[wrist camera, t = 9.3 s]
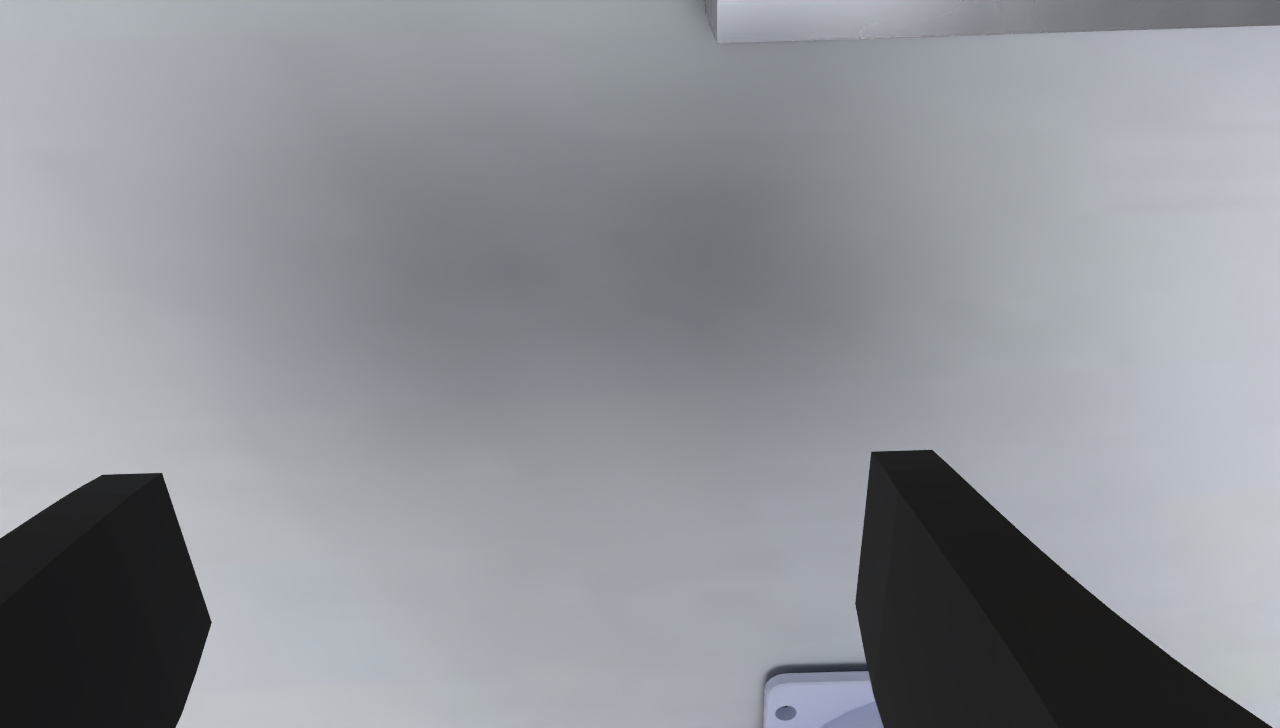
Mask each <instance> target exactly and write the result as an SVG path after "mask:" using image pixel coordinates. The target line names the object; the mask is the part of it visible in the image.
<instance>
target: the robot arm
mask: <svg viewBox="0 0 1280 728" xmlns="http://www.w3.org/2000/svg"><path fill="white" fill-rule="evenodd" d="M855 604H856V610H857V615H858V620H859V626H860V631H861V636H862V642H863V647H864V652H865V657H866V662H867V667H868V671H852V672H817V673H785V674H779V675H776V676H774V677H772V678H771V679H770V680H769V681H768V682H767V683H766V686H765V691H764V712H763V728H1272V727H1271V726H1270V725H1268V724H1267V723H1265V722H1264V721H1262V720H1261V719H1259V718H1258V717H1256V716H1255V715H1253V714H1252V713H1250V712H1249V711H1247V710H1246V709H1245V708H1243V707H1242V706H1240V705H1239V704H1237V703H1236V702H1234V701H1233V700H1231V699H1230V698H1228V697H1227V696H1225V695H1224V694H1222V693H1221V692H1219V691H1218V690H1217V689H1215V688H1214V687H1212V686H1211V685H1209V684H1208V683H1207V682H1205V681H1204V680H1202V679H1201V678H1200V677H1198V676H1197V675H1195V674H1194V673H1193V672H1191V671H1190V670H1189V669H1187V668H1186V667H1184V666H1183V665H1182V664H1180V663H1179V662H1178V661H1176V660H1175V659H1174V658H1172V657H1171V656H1170V655H1168V654H1167V653H1166V652H1165V651H1163V650H1162V649H1161V648H1159V647H1158V646H1157V645H1156V644H1154V643H1153V642H1152V641H1150V640H1149V639H1148V638H1147V637H1145V636H1144V635H1143V634H1141V633H1140V632H1139V631H1138V630H1136V629H1135V628H1134V627H1132V626H1131V625H1130V624H1129V623H1127V622H1126V621H1125V620H1123V619H1122V618H1121V617H1120V616H1118V615H1117V614H1116V613H1114V612H1113V611H1112V610H1111V609H1110V608H1108V607H1107V606H1106V605H1105V604H1104V603H1102V602H1101V601H1100V600H1099V599H1097V598H1096V597H1095V596H1094V595H1093V594H1091V593H1090V592H1089V591H1088V590H1087V589H1085V588H1084V587H1083V586H1082V585H1081V584H1079V583H1078V582H1077V581H1076V580H1075V579H1074V578H1072V577H1071V576H1070V575H1069V574H1068V573H1067V572H1065V571H1064V570H1063V569H1062V568H1061V567H1060V566H1058V565H1057V564H1056V563H1055V562H1054V561H1053V560H1052V559H1050V558H1049V557H1048V556H1047V555H1046V554H1045V553H1044V552H1042V551H1041V550H1040V549H1039V548H1038V547H1037V546H1036V545H1035V544H1033V543H1032V542H1031V541H1030V540H1029V539H1028V538H1027V537H1026V536H1025V535H1023V534H1022V533H1021V532H1020V531H1019V530H1018V529H1017V528H1016V527H1015V526H1014V525H1012V524H1011V523H1010V522H1009V521H1008V520H1007V519H1006V518H1005V517H1004V516H1003V515H1002V514H1001V513H999V512H998V511H997V510H996V509H995V508H994V507H993V506H992V505H991V504H990V503H989V502H988V501H987V500H985V499H984V498H983V497H982V496H981V495H980V494H979V493H978V492H977V491H976V490H975V489H974V488H973V487H972V486H971V485H969V484H968V483H967V482H966V481H965V480H964V479H963V478H962V477H961V476H960V475H959V474H958V473H957V472H956V471H955V470H954V469H952V468H951V467H950V466H949V465H948V464H947V463H946V462H945V461H944V460H943V459H942V458H940V457H939V456H938V455H937V454H936V453H935V452H934V451H933V450H913V451H880V452H871V461H870V470H869V480H868V489H867V499H866V508H865V517H864V527H863V536H862V546H861V555H860V565H859V574H858V584H857V593H856V603H855ZM211 623H212V622H211V619H210V616H209V613H208V610H207V607H206V604H205V601H204V598H203V595H202V592H201V589H200V586H199V583H198V580H197V577H196V574H195V571H194V568H193V565H192V562H191V559H190V556H189V553H188V550H187V547H186V544H185V541H184V538H183V535H182V532H181V529H180V526H179V523H178V520H177V517H176V514H175V511H174V508H173V505H172V502H171V499H170V496H169V493H168V490H167V487H166V484H165V481H164V478H163V475H162V473H148V474H114V475H101V476H100V477H98V478H96V479H94V480H92V481H91V482H89V483H87V484H85V485H83V486H82V487H80V488H78V489H77V490H75V491H73V492H72V493H70V494H68V495H67V496H65V497H63V498H62V499H60V500H59V501H57V502H56V503H54V504H52V505H51V506H49V507H48V508H46V509H45V510H43V511H41V512H40V513H38V514H37V515H35V516H34V517H32V518H31V519H29V520H28V521H26V522H25V523H23V524H22V525H20V526H19V527H17V528H16V529H14V530H13V531H11V532H10V533H8V534H6V535H5V536H3V537H2V538H0V728H175V727H176V725H177V723H178V721H179V719H180V717H181V714H182V712H183V709H184V706H185V703H186V700H187V697H188V695H189V692H190V689H191V686H192V683H193V680H194V677H195V674H196V671H197V668H198V665H199V662H200V658H201V655H202V652H203V649H204V645H205V642H206V639H207V636H208V632H209V629H210V626H211ZM783 706H789V707H785V708H780V707H783Z"/></svg>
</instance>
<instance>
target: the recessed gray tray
mask: <svg viewBox="0 0 1280 728" xmlns="http://www.w3.org/2000/svg"><path fill="white" fill-rule="evenodd" d="M705 12H706V15H707V18H708V20H709V23H710V26H711V29H712V31H713V34H714V37H715V40H716V42H717V43H747V42H778V41H809V40H839V39H870V38H901V37H932V36H962V35H993V34H1024V33H1055V32H1085V31H1116V30H1147V29H1178V28H1208V27H1239V26H1270V25H1280V0H705Z"/></svg>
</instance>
